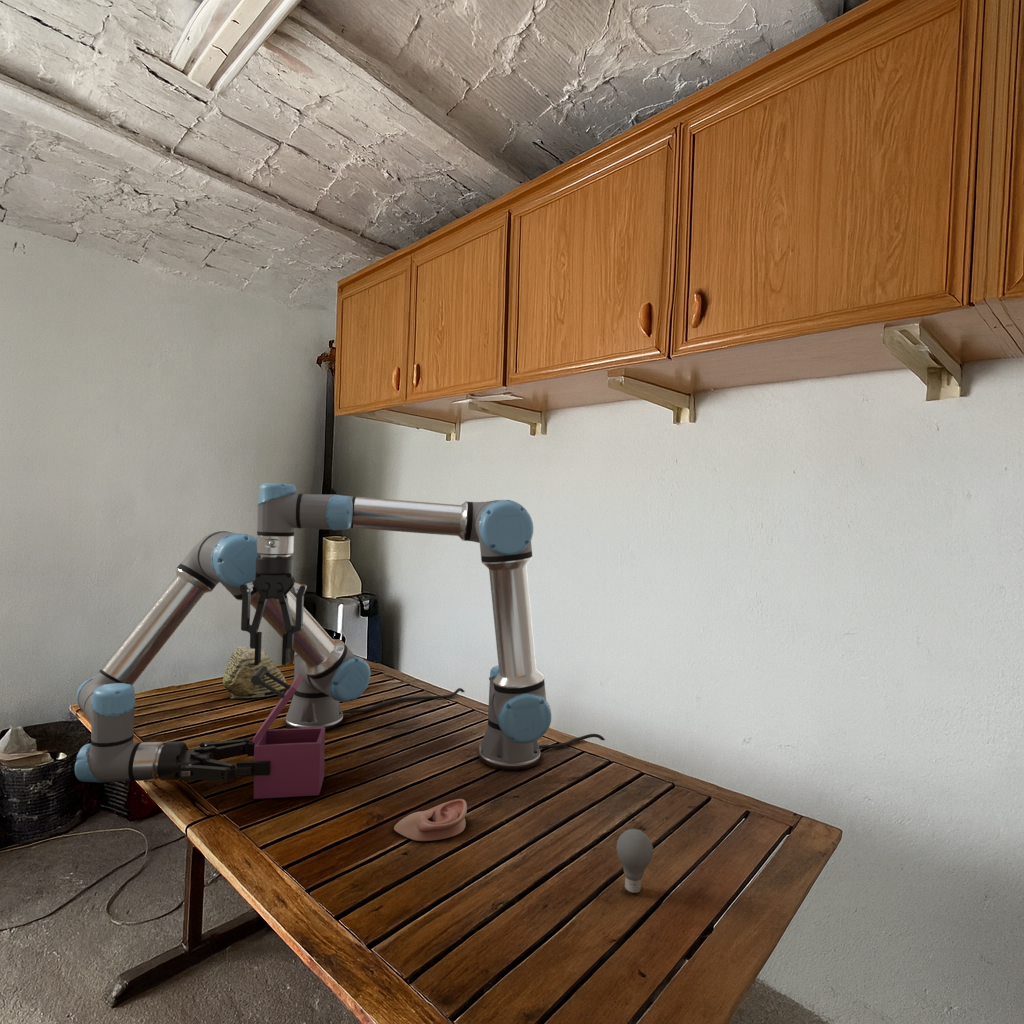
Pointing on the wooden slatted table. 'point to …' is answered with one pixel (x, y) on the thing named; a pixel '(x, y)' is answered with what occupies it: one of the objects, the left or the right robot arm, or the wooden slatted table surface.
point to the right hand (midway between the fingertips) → (271, 663)
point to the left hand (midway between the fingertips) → (274, 758)
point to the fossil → (249, 674)
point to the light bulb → (634, 857)
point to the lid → (284, 697)
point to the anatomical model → (434, 822)
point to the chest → (291, 762)
